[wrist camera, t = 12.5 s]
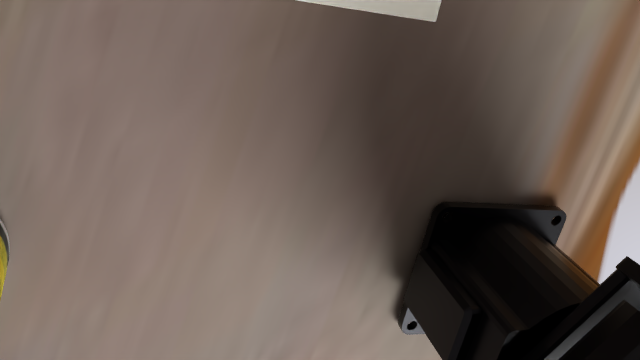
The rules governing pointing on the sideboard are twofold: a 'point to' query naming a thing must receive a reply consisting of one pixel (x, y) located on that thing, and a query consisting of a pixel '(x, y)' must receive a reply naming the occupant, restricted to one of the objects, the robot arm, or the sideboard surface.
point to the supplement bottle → (3, 254)
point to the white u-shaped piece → (390, 7)
